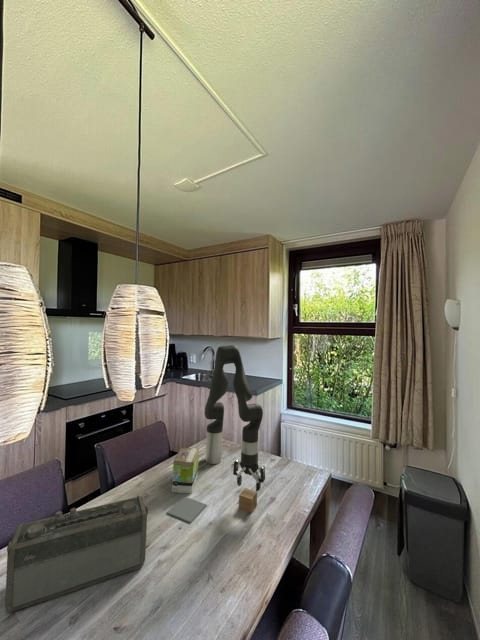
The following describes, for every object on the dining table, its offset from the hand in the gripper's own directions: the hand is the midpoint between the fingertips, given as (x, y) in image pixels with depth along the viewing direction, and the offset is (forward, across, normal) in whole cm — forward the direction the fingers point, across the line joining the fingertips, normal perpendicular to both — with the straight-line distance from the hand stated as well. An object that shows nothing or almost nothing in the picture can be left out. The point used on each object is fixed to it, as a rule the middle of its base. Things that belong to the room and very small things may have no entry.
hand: (248, 487), depth 122 cm
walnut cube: (+9, 0, 0) cm, 9 cm away
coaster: (+8, +22, +14) cm, 27 cm away
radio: (+9, +34, +53) cm, 63 cm away
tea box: (+8, +34, -1) cm, 35 cm away
